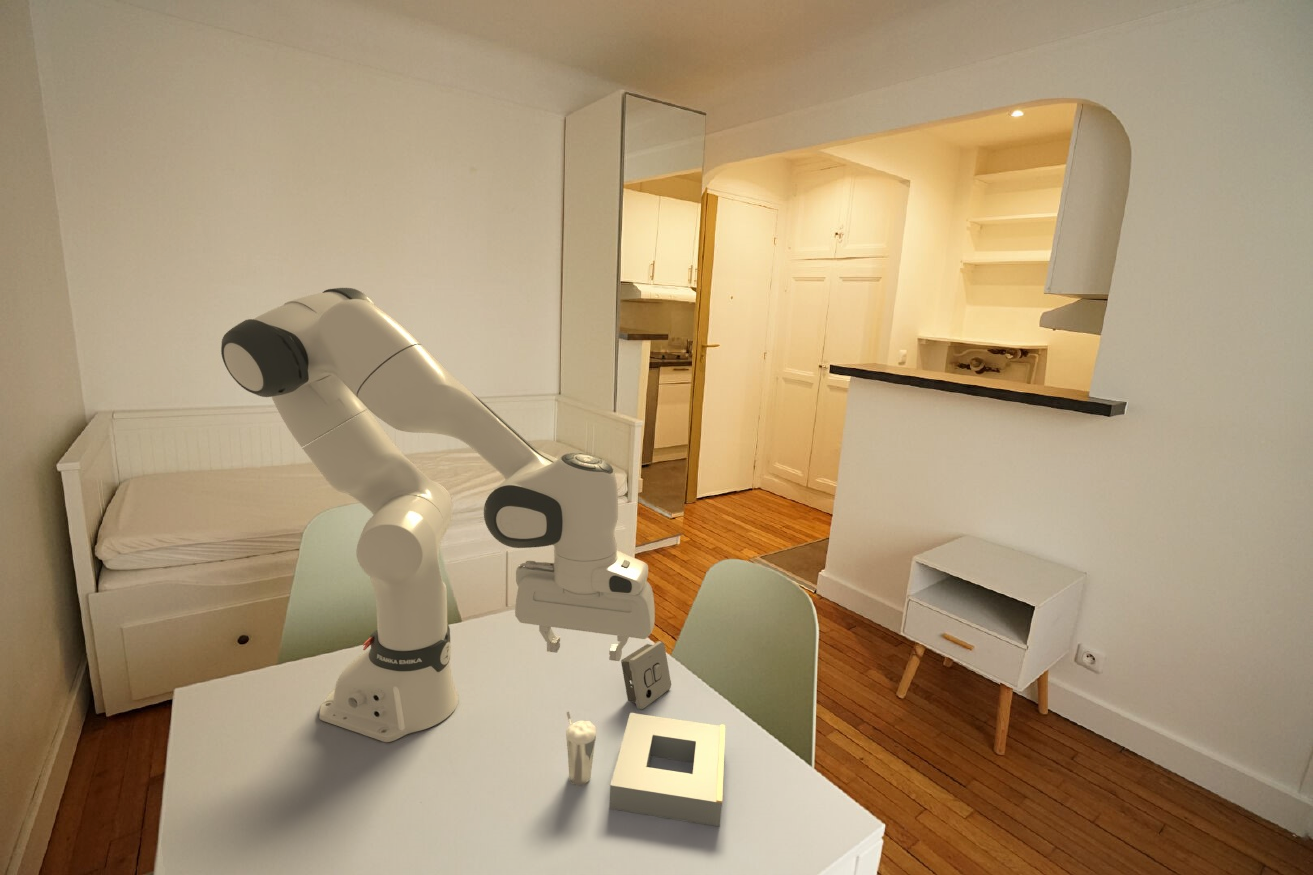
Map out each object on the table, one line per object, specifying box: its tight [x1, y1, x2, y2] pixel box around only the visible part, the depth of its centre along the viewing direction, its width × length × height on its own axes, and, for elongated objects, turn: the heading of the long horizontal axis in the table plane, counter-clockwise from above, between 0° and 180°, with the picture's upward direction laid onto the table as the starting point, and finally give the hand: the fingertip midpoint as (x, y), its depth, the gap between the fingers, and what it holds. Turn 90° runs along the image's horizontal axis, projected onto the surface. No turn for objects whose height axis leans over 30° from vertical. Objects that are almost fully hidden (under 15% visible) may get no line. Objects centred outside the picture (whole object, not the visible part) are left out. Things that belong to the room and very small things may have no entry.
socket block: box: [608, 712, 726, 828], centre depth 95 cm, size 16×16×4 cm
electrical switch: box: [620, 640, 672, 710], centre depth 114 cm, size 9×5×9 cm, turn 141°
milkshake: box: [565, 710, 598, 786], centre depth 93 cm, size 5×5×10 cm
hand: (584, 654), depth 90 cm, fingers open, 8 cm apart
